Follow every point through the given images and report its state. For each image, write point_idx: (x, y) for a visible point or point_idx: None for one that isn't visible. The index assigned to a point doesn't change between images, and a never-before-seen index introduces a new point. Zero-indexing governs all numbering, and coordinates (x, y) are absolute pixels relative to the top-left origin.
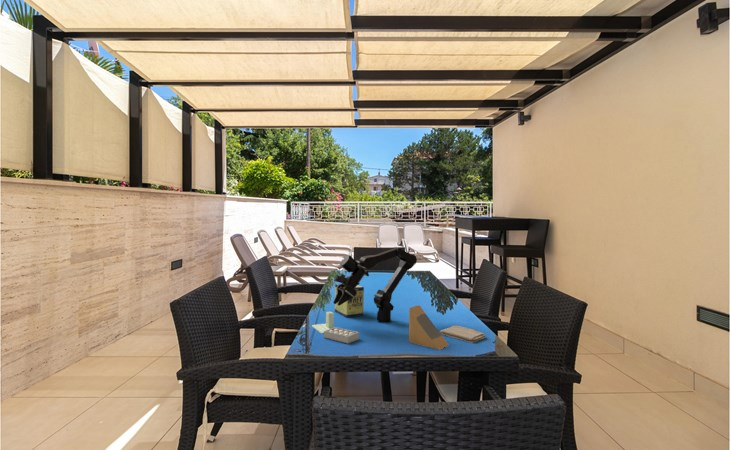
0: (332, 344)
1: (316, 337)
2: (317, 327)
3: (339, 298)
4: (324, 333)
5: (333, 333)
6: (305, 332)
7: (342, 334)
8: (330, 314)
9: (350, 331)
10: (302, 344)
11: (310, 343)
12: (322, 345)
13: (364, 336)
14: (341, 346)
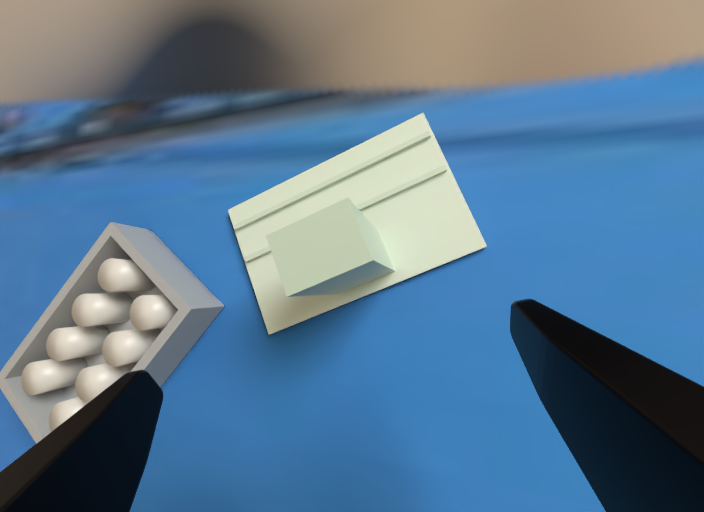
0: (52, 281)
1: (164, 184)
2: (352, 166)
3: (636, 509)
4: (123, 227)
5: (62, 287)
6: (264, 100)
7: (51, 349)
8: (278, 258)
9: None
10: (73, 124)
11: (80, 162)
12: (47, 228)
13: (151, 507)
14: (21, 329)
